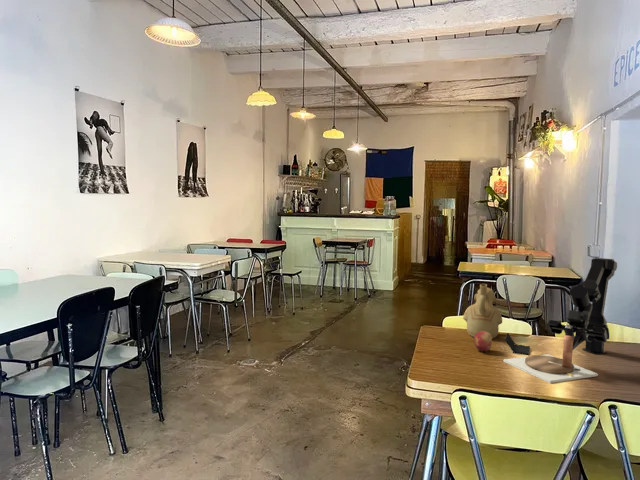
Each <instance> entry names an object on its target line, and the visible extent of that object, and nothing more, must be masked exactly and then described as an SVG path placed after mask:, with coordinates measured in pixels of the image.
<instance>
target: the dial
mask: <svg viewBox="0 0 640 480" xmlns="http://www.w3.org/2000/svg"><path fill="white" fill-rule="evenodd" d="M573 351H574V350H573V337H572V336H567V335H565V334H564V336H563V346H562V357H561V358H559V357H556V356H554V357H551V356H552V355H551V356H544V355H545V354H540V355H539V354H535V355H533V354H532V355H527V356H525V357H526V358H525V363H526V365H528V366H529V367H531V368H534V369H536V370H540V371H544V372H549V373H557V374H565V373H571V372H573V371H574V365H575V364H574V363H573ZM573 364H574V365H573Z"/></svg>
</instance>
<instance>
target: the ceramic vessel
mask: <svg viewBox="0 0 640 480" xmlns="http://www.w3.org/2000/svg"><path fill="white" fill-rule="evenodd" d="M494 294H495V292H494V290H493V289H492V288H490V287H488V284H486V283H480V284H479V289H478V290H477V293H475V294H474V295H473V296H474V298H473V300H474V301H475V303H473V304H471V305H469V306H468V307H467V308H466V309H465V312H464V313H463V318H462V319H463V320H464V321H465V322H466V331H467V333H468V335H469V336H471V337H474V336H475V335H476V334H477V333H478V332H481V331H485V332H488V333H489V334H491V335H492V339H495V338H496V337H497V336H498V334H499V330H500V329H499V326H500V325H502V324H503V316H502V313H501V311H500V310H499V309H498V308H497V307H495V306H494V305H493V304H495V302H496V299H497V298H496V296H495V295H494Z"/></svg>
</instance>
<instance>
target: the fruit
mask: <svg viewBox="0 0 640 480" xmlns="http://www.w3.org/2000/svg"><path fill="white" fill-rule="evenodd" d="M472 337H473V336H472ZM492 341H493V338H492V335H491V334H489V333H488V332H485V331H481V332H478V333H477V334H476V335H475V336H474V337H473V344H474V346H475V348H476V349H477V350H478V351H481V352H487V351H490V350H491V349H492V344H493V343H492Z"/></svg>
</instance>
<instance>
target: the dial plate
mask: <svg viewBox="0 0 640 480" xmlns="http://www.w3.org/2000/svg"><path fill="white" fill-rule="evenodd" d="M543 355H544V356H551V357H555V356H553V355H551V354H547V353H546V354H543ZM526 357H527V356H523V357H522V356H520V357H513V358H505V359H503V361H502V362H503V363H505V364H508V365H510V366H512V367H514V368H516V369H519V370H521V371H523V372H525V373H527V374H529V375H532V376H534V377H535V378H536V377H537V379H540V380H542V381H545V382H546V383H548V384H553V383H559V382H566V381H573V380H580V379H587V378H592V377H593V378H594V377H598V376H599V374H598V373H597V372H595V371H592V370H590V369H587V368H584V367H582V366H579V365H577V364H574V363H572V364H573V365H574V371H573V372H571V373H565V374H557V373H549V372H544V371H540V370H536V369H534V368H531V367H529V366H528V365H526V363H525V358H526Z"/></svg>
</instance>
